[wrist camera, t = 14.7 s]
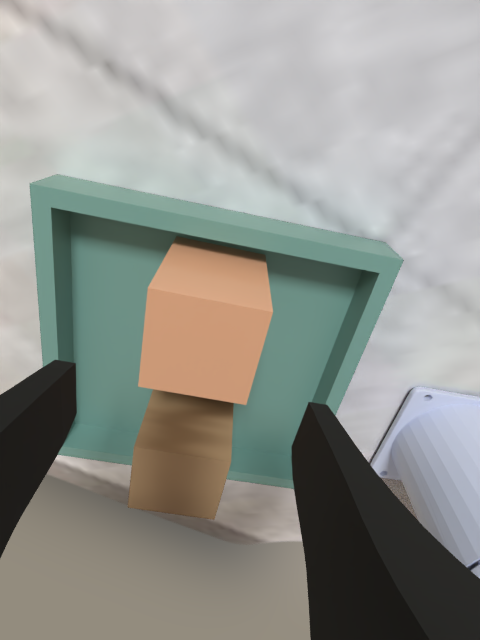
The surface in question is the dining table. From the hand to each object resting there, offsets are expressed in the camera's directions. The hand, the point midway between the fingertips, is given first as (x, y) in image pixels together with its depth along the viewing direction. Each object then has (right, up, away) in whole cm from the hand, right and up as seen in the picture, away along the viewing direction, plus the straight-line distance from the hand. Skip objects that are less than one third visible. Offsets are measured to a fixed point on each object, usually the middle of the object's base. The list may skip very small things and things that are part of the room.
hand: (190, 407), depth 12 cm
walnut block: (-1, -2, +11) cm, 12 cm away
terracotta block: (0, +5, +8) cm, 9 cm away
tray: (-1, +1, +10) cm, 10 cm away
